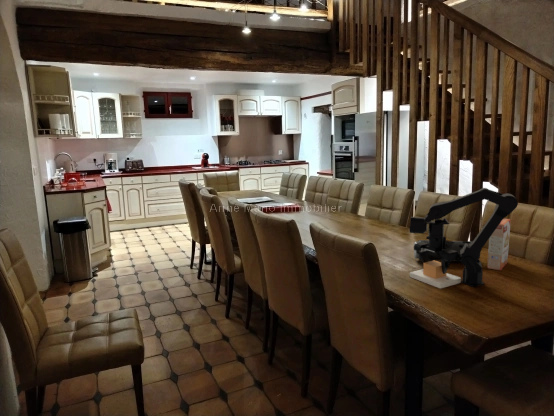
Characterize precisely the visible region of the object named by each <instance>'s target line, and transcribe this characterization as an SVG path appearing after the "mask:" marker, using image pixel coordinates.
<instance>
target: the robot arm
mask: <svg viewBox="0 0 554 416" xmlns="http://www.w3.org/2000/svg"><path fill="white" fill-rule="evenodd" d="M484 200H485V201H488V202H491V203H492V204H495V207H494V210H493V211H492V214H490V217H489V218H488V220H487V221H486V222H485V224H484V225H483V226H482V228H481V229H480V230H479V232H478V234H477V235H476V236H475V238H474V239H473V240H472V241H473V242H472V243H471V244H469V245H468V244H467V243H465V245H464V247H463V249H461V250H460V260H461V262H460V263H461V264H462V265H463V266H464V267H463V270H462V279H461V283H462V284H465V285H468V286H470V287H473V288H475V287H479V286H482V285H485V284H486V282H484V281H483V277H484V276H483V273H484V271H483V266H482V261H481V260H480V258H479V255H480V256H481V252H482V249H483V247H485V245H486V244H487V242H489V238H490V237H491V235H492V234H493V232H494V231H495V230H496V228H497V227H498V225H499V224H500V223H501V221H502V220H503V219H506V217H507V216H509V215H510V214H512V213H513V212H514V211H515V210H516V208H517V207H518V205H519V201H518V199H517V198H516V197H515V196H514V195H513V194H511V193H507V192H506V193H501V192H498V191H494V190H491V189H489V188H487V187H483V188H480V189H479V190H476V191H473V192H471V193H468V194H465V195H462V196H459V197H457V198H454V199H451V200H448V201H447V200H446V201H441V202H436V203H433V204H432V205H430V207H429V209H428V212H427V214H425V216H424V217H417V216H410V221H409V222H410V223H409V233H410V234H423V235H424V234H425V233H426V232H428V235H427V236H426V237H425V238H426V239H425V240H428V243H425V242H420V243H416V244H415V245H414V244H413V251H414V250H416V253H418V255H419V257H420V258H421V260H420V261H421V262H422V264H423V263H425V262H429V261H428V255H429V253H430V251H431V252H434V253H437V254H441V257H442V259H441V260H440V262H441V265H442V272H443V274H445V273H446V271H447V270H448V269H449V267H450V264H451V263H452V262H454V261H453V260H456V259H458V258H459V252H458V251H455V250H451V249H452V248H453V244H454V242H451V241H452V240H447V236H444V234H445V231H444V230H445V226H448V225H449V224H450V221H449V220H448V219H447V218H446V216H447V215H449V214H451V213H452V212H454V211H456V210H458V209H462V208H464V207H467V206H470V205H473V204H475V203H478V202H481V201H484ZM447 248H449V249H450V250H446V251H444V250H443V249H447ZM478 258H479V259H478ZM447 272H448V271H447Z"/></svg>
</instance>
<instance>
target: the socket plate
mask: <svg viewBox="0 0 554 416" xmlns="http://www.w3.org/2000/svg"><path fill="white" fill-rule="evenodd" d="M409 278H412V279H415V280H417V281H420V282H422V283H425V284H427V285H430V286H432V287H435V288H437V289H444V288H447V287H450V286H455V285H458V284H460V283H461V281H462V277H460V276H458V275H454V274H451V273H448V272H447V275H446V276H444V277H440V278H436V279H435V278H432V277H429V276H427V275H424V274H423V268H422V269H418V270H414V271H409Z"/></svg>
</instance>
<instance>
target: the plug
mask: <svg viewBox="0 0 554 416" xmlns="http://www.w3.org/2000/svg"><path fill="white" fill-rule="evenodd" d="M422 264H423V268H422V269H423V274H424V275H427V276H429V277H432V278H435V279H436V278H440V277H444V276H446V275H447V273H448V271H446V273H445V274H443V272H442V265H441V261H439V260H436V261H435V260H433V261H428V262H425V263H423V262H422Z"/></svg>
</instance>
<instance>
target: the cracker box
mask: <svg viewBox="0 0 554 416" xmlns="http://www.w3.org/2000/svg"><path fill="white" fill-rule="evenodd" d="M511 222H512V220H511V219H510V218H504V219H503V220H502V221H501V223H500V224H499V225H498V227H497V228H496V230H495V231H494V232H493V234H492V235H491V237H490V238H489V239H488V251H487V266H486V267H487V269H488V270H489V269H491V270H495V271H502V270H503V269H504V267H505V266H506V265H507V263H508V260H509V259H508V257H509V256H508V255H509V247H510V245H509V244H510V235H511V234H510V231H511V224H512V223H511Z"/></svg>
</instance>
